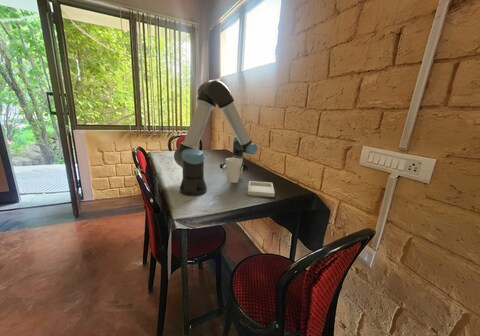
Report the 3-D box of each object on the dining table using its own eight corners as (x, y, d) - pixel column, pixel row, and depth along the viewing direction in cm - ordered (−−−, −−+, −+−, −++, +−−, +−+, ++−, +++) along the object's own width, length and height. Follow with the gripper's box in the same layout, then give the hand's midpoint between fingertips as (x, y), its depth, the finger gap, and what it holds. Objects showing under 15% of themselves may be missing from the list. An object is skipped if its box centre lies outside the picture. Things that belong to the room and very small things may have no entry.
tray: (247, 195, 114) (247, 191, 113) (248, 184, 131) (249, 181, 131) (274, 197, 113) (274, 193, 112) (272, 186, 130) (272, 182, 130)
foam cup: (238, 184, 113) (240, 162, 110) (222, 182, 115) (223, 160, 112) (241, 179, 122) (243, 158, 119) (227, 177, 124) (228, 157, 121)
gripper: (252, 168, 135) (251, 178, 113) (219, 166, 136) (212, 175, 114) (253, 157, 133) (252, 165, 111) (220, 155, 134) (213, 162, 112)
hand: (232, 170), depth 113 cm, fingers closed on foam cup, 9 cm apart
